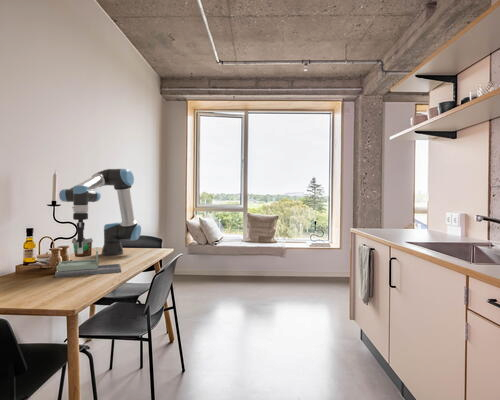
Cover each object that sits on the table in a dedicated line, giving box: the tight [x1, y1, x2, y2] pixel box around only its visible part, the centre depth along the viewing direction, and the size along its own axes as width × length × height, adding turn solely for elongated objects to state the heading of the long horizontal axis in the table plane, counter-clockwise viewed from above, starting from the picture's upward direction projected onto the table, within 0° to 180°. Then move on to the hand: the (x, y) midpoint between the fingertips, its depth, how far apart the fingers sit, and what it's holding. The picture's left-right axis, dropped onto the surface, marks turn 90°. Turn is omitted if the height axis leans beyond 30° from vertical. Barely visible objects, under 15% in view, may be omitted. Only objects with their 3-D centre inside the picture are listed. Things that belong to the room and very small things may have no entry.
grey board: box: [54, 263, 122, 279], centre depth 195 cm, size 18×33×2 cm, turn 114°
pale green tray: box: [56, 246, 99, 272], centre depth 192 cm, size 16×20×10 cm
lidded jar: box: [36, 251, 52, 262], centre depth 204 cm, size 11×11×9 cm
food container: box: [71, 237, 94, 258], centre depth 192 cm, size 12×6×10 cm, turn 75°
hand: (80, 252), depth 193 cm, fingers closed on food container, 8 cm apart
